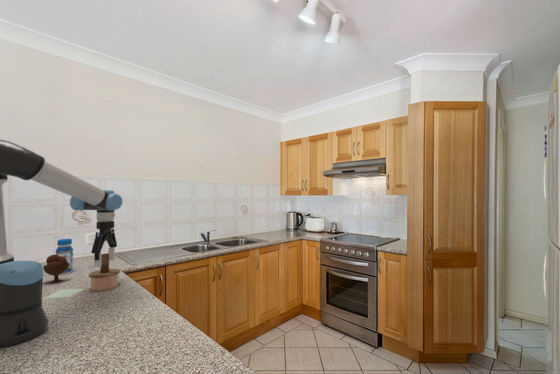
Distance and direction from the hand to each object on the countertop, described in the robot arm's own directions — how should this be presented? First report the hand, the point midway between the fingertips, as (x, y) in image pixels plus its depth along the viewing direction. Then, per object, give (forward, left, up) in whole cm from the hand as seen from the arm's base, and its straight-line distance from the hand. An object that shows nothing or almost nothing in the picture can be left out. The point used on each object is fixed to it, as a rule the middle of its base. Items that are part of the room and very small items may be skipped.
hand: (104, 263), depth 131 cm
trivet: (-6, +14, -12) cm, 20 cm away
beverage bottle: (+34, +38, -12) cm, 52 cm away
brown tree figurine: (+14, +30, -12) cm, 35 cm away
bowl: (0, 0, -12) cm, 12 cm away
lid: (0, 0, -5) cm, 5 cm away
